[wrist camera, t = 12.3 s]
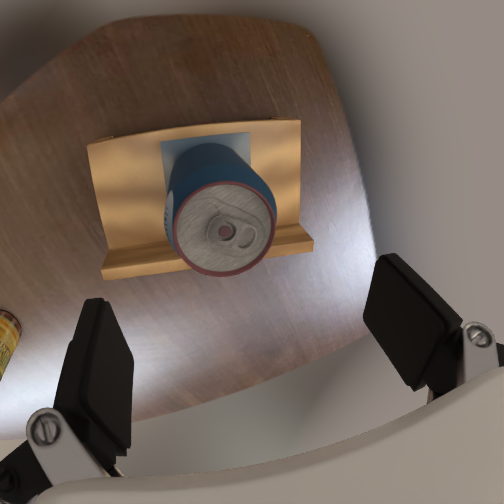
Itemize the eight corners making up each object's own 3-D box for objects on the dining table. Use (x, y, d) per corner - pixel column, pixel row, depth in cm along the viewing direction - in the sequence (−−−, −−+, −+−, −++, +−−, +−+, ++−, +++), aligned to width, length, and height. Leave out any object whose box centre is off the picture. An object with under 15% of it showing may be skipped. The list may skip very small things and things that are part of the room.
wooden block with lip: (100, 138, 26) (71, 152, 19) (284, 116, 30) (318, 123, 22) (120, 238, 32) (104, 281, 25) (284, 216, 36) (313, 251, 28)
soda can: (160, 199, 26) (146, 267, 16) (187, 129, 24) (189, 150, 14) (227, 222, 29) (254, 297, 19) (257, 158, 26) (307, 199, 16)
